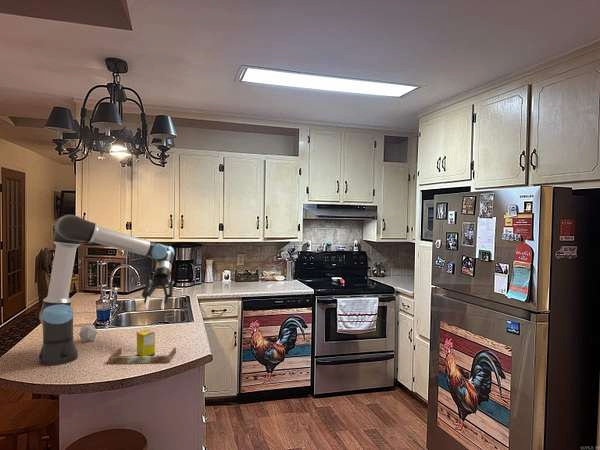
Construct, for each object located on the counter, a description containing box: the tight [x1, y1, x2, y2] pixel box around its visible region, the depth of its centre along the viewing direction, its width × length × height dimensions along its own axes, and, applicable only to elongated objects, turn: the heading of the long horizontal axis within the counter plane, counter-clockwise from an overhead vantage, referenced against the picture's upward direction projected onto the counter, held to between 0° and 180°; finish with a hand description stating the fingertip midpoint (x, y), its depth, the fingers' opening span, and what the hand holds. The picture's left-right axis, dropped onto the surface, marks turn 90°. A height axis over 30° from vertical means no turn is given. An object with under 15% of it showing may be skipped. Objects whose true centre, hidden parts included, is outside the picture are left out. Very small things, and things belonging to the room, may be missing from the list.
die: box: [78, 324, 98, 343], centre depth 209 cm, size 8×9×10 cm
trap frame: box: [107, 347, 177, 364], centre depth 185 cm, size 26×12×2 cm, turn 94°
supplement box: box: [136, 329, 156, 357], centre depth 188 cm, size 6×6×11 cm
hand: (153, 308), depth 200 cm, fingers open, 7 cm apart
